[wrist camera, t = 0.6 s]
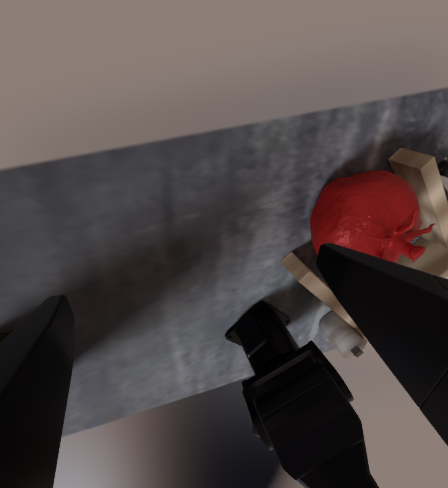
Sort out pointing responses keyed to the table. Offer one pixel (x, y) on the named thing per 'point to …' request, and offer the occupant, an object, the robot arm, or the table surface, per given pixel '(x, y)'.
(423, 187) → the frame
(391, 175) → the pomegranate
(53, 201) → the table surface
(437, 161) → the crank handle
